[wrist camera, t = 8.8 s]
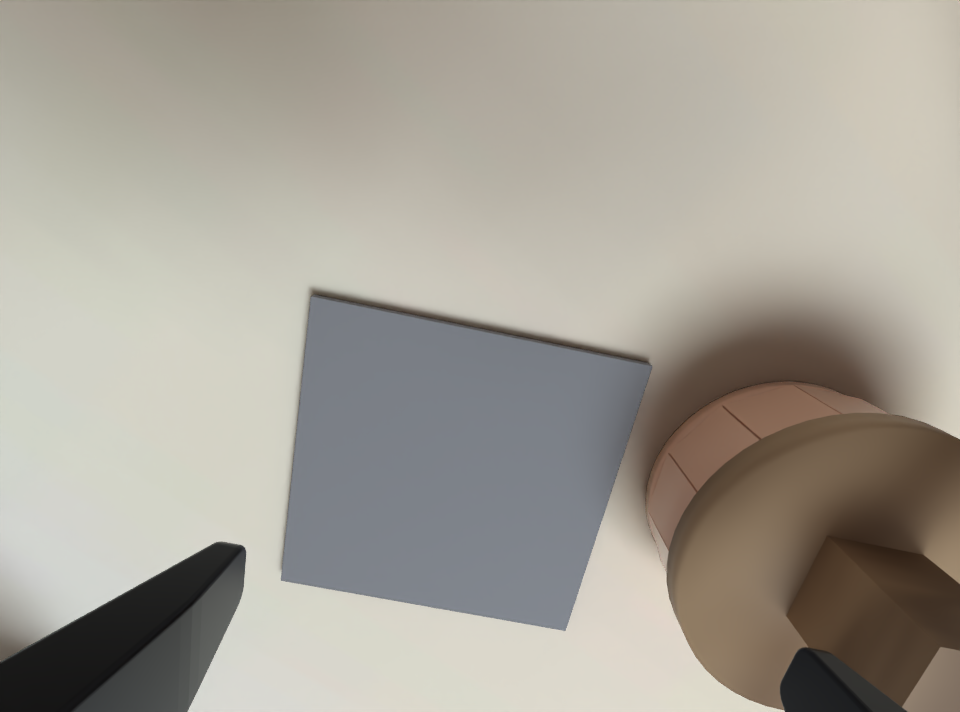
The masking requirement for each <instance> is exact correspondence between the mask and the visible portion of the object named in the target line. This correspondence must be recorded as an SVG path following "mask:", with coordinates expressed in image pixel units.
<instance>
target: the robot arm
mask: <svg viewBox="0 0 960 712" xmlns="http://www.w3.org/2000/svg"><path fill="white" fill-rule="evenodd" d="M245 562H246V550H245V548H244V547H243V546H242V545H238V544H232V543H227V542H216V543H214V544H212V545H210V546H208V547H206V548H205V549H203V550H201V551H199V552H197V553H196V554H194V555H192V556H190V557H188V558H187V559H185V560H183V561H181V562H179V563H178V564H176V565H174V566H172V567H170V568H169V569H167V570H165V571H163V572H161V573H160V574H158V575H156V576H154V577H152V578H151V579H149V580H147V581H145V582H143V583H142V584H140V585H138V586H136V587H134V588H133V589H131V590H129V591H127V592H125V593H124V594H122V595H120V596H118V597H116V598H115V599H113V600H111V601H109V602H107V603H106V604H104V605H102V606H100V607H98V608H97V609H95V610H93V611H91V612H89V613H87V614H86V615H84V616H82V617H80V618H78V619H77V620H75V621H73V622H71V623H69V624H68V625H66V626H64V627H62V628H60V629H59V630H57V631H55V632H53V633H51V634H50V635H48V636H46V637H44V638H42V639H41V640H39V641H37V642H35V643H33V644H32V645H30V646H28V647H26V648H24V649H23V650H21V651H19V652H17V653H15V654H14V655H12V656H10V657H8V658H6V659H5V660H3V661H1V662H0V712H187V711H188V709H189V707H190V705H191V703H192V701H193V699H194V697H195V695H196V693H197V691H198V689H199V687H200V685H201V683H202V681H203V678H204V676H205V674H206V672H207V670H208V668H209V666H210V664H211V662H212V659H213V657H214V655H215V653H216V651H217V649H218V647H219V645H220V643H221V640H222V638H223V636H224V634H225V632H226V630H227V628H228V626H229V624H230V621H231V619H232V617H233V615H234V613H235V611H236V609H237V607H238V604H239V602H240V599H241V596H242V592H243V587H244V574H245ZM780 698H781V702H782V704H783V707H784V710H785V712H908V711H906V710H905V709H904V708H902V707H901V706H900V705H898V704H897V703H896V702H895V701H893V700H892V699H891V698H889V697H888V696H887V695H885V694H884V693H883V692H881V691H880V690H879V689H878V688H876V687H875V686H874V685H872V684H871V683H870V682H868V681H867V680H866V679H864V678H863V677H862V676H861V675H859V674H858V673H857V672H855V671H854V670H853V669H851V668H850V667H849V666H847V665H846V664H845V663H844V662H842V661H841V660H840V659H838V658H837V657H836V656H834V655H833V654H832V653H830V652H828V651H825V650H820V649H814V648H809V647H802V648H800V649H799V650H797V652H796V653H795V655H794V657H793V659H792V661H791V663H790V665H789V667H788V669H787V671H786V673H785V675H784V677H783V678H782V680H781V683H780Z"/></svg>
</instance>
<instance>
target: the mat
mask: <svg viewBox="0 0 960 712" xmlns="http://www.w3.org/2000/svg"><path fill="white" fill-rule="evenodd" d="M651 369H652V365H651V364H650V363H646V362H642V361H637V360H632V359H627V358H622V357H617V356H612V355H607V354H603V353H598V352H593V351H588V350H583V349H578V348H573V347H568V346H564V345H559V344H554V343H549V342H544V341H539V340H534V339H529V338H524V337H520V336H515V335H510V334H505V333H500V332H495V331H490V330H485V329H481V328H476V327H471V326H466V325H461V324H456V323H451V322H446V321H442V320H437V319H432V318H427V317H422V316H417V315H412V314H407V313H402V312H398V311H393V310H388V309H383V308H378V307H373V306H368V305H363V304H359V303H354V302H349V301H344V300H339V299H334V298H329V297H324V296H320V295H313V296H311V300H310V310H309V319H308V329H307V338H306V348H305V357H304V366H303V376H302V385H301V395H300V404H299V414H298V423H297V433H296V442H295V452H294V461H293V470H292V480H291V489H290V499H289V508H288V518H287V527H286V537H285V546H284V556H283V565H282V574H281V581H286V582H292V583H298V584H303V585H309V586H315V587H320V588H326V589H332V590H337V591H343V592H349V593H354V594H360V595H366V596H371V597H377V598H383V599H388V600H394V601H400V602H405V603H411V604H416V605H422V606H428V607H433V608H439V609H445V610H450V611H456V612H462V613H467V614H473V615H479V616H484V617H490V618H496V619H501V620H507V621H513V622H518V623H524V624H529V625H535V626H541V627H546V628H552V629H558V630H563V631H566V628H567V625H568V621H569V618H570V615H571V612H572V609H573V606H574V603H575V600H576V597H577V594H578V591H579V588H580V585H581V582H582V579H583V576H584V573H585V570H586V567H587V564H588V561H589V558H590V555H591V552H592V549H593V546H594V543H595V540H596V536H597V533H598V530H599V527H600V524H601V521H602V518H603V515H604V512H605V509H606V506H607V503H608V500H609V497H610V494H611V491H612V488H613V485H614V482H615V479H616V476H617V473H618V470H619V467H620V464H621V461H622V458H623V454H624V451H625V448H626V445H627V442H628V439H629V436H630V433H631V430H632V427H633V424H634V421H635V418H636V415H637V412H638V409H639V406H640V403H641V400H642V397H643V394H644V391H645V388H646V385H647V382H648V379H649V376H650V373H651Z"/></svg>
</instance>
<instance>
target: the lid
mask: <svg viewBox="0 0 960 712" xmlns="http://www.w3.org/2000/svg"><path fill="white" fill-rule="evenodd" d="M667 587H668V593H669V599H670V601H671V604H672V607H673V610H674V613H675V615H676V618H677V620H678V622H679V624H680V626H681V629H682V631H683V633H684V635H685V637H686V640H687V642H688V644H689V645H690V647H691V649H692V651H693V653H694V655H695V656H696V658H697V659H698V660H699V662H700V663H701V664H702V665H703V667H704V668H705V669H706V670H707V671H708V672H709V673H710V674H711V675H712V676H713V677H714V678H715V679H716V680H717V681H719V682H720V683H721V684H723V685H724V686H726V687H727V688H729V689H730V690H732V691H733V692H735V693H737V694H739V695H741V696H743V697H745V698H747V699H749V700H751V701H754V702H757V703H760V704H762V705H765V706H768V707H773V708H777V709H781V710H784V707H783V704H782V702H781V698H780V683H781V680H782V678H783V677H784V675H785V673H786V671H787V669H788V667H789V665H790V663H791V661H792V659H793V657H794V655H795V653H796V652H797V650H799V649H800V648H802V647H809V648H814V649H820V650H825V651H828V652H830V653H832V654H833V655H834V656H836V657H837V658H838V659H840V660H841V661H842V662H844V663H845V664H846V665H847V666H849V667H850V668H851V669H853V670H854V671H855V672H857V673H858V674H859V675H861V676H862V677H863V678H864V679H866V680H867V681H868V682H870V683H871V684H872V685H874V686H875V687H876V688H878V689H879V690H880V691H881V692H883V693H884V694H885V695H887V696H888V697H889V698H891V699H892V700H893V701H895V702H896V703H897V704H898V705H900V706H901V707H902V708H904V709H905V710H906V711H908V712H960V439H958V438H956V437H954V436H952V435H950V434H948V433H946V432H944V431H942V430H940V429H937V428H935V427H933V426H931V425H929V424H926V423H924V422H921V421H917V420H914V419H910V418H907V417H903V416H897V415H890V414H883V413H848V414H838V415H831V416H826V417H821V418H816V419H812V420H808V421H805V422H802V423H799V424H796V425H793V426H789V427H786V428H784V429H782V430H780V431H777V432H775V433H773V434H771V435H769V436H766V437H764V438H762V439H761V440H759V441H757V442H756V443H754V444H752V445H750V446H749V447H747V448H745V449H744V450H742V451H741V452H740V453H738V454H737V455H736V456H734V457H733V458H732V459H730V460H729V461H727V462H726V463H725V464H724V465H723V466H722V467H721V468H719V469H718V470H717V471H716V472H715V473H714V474H713V475H712V476H711V477H710V478H709V479H708V480H707V481H706V482H705V483H704V485H703V486H702V487H701V488H700V489H699V491H698V492H697V493H696V494H695V495H694V497H693V498H692V500H691V501H690V503H689V504H688V506H687V508H686V509H685V511H684V512H683V514H682V516H681V518H680V520H679V522H678V525H677V527H676V529H675V531H674V534H673V538H672V541H671V544H670V547H669V553H668V559H667Z"/></svg>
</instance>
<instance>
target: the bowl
mask: <svg viewBox="0 0 960 712" xmlns="http://www.w3.org/2000/svg"><path fill="white" fill-rule="evenodd" d="M848 413H883V414H889V413H887V412H885V411H883V410H881V409H879V408H877V407H876V406H874V405H872V404H870V403H868V402H866V401H864V400H862V399H860V398H856V397H851V396H846V395H843V394H841V393H839V392H836V391H834V390H832V389H830V388H826V387H823V386H819V385H815V384H810V383H803V382H772V383H763V384H759V385H754V386H750V387H746V388H743V389H740V390H737V391H734V392H731V393H729V394H727V395H725V396H723V397H721V398H718V399H716V400H714V401H713V402H711V403H709V404H708V405H706V406H705V407H703V408H701V409H700V410H698V411H697V412H696V413H695V414H693V415H692V416H691V417H690V418H688V419H687V420H686V421H685V422H684V423H683V424H682V425H681V426H680V427H679V428H678V429H677V430H676V431H675V432H674V433H673V435H672V436H671V437H670V438H669V440H668V441H667V442H666V444H665V445H664V447H663V448H662V450H661V452H660V453H659V455H658V457H657V459H656V461H655V463H654V466H653V468H652V470H651V473H650V477H649V481H648V484H647V492H646V514H647V519H648V525H649V527H650V530H651V533H652V536H653V538H654V540H655V542H656V544H657V548H658V552H659V555H660V559H661V562H662V564H663V566H664V568H665V570H666V572H667V559H668V553H669V547H670V544H671V541H672V538H673V534H674V531H675V529H676V527H677V525H678V522H679V520H680V518H681V516H682V514H683V512H684V511H685V509H686V508H687V506H688V504H689V503H690V501H691V500H692V498H693V497H694V495H695V494H696V493H697V492H698V491H699V489H700V488H701V487H702V486H703V485H704V483H705V482H706V481H707V480H708V479H709V478H710V477H711V476H712V475H713V474H714V473H715V472H716V471H717V470H718V469H719V468H721V467H722V466H723V465H724V464H725V463H726V462H727V461H729V460H730V459H732V458H733V457H734V456H736V455H737V454H738V453H740V452H741V451H742V450H744V449H745V448H747V447H749V446H750V445H752V444H754V443H756V442H757V441H759V440H761V439H762V438H764V437H766V436H769V435H771V434H773V433H775V432H777V431H780V430H782V429H784V428H786V427H789V426H793V425H796V424H799V423H802V422H805V421H808V420H812V419H816V418H821V417H826V416H831V415H838V414H848ZM890 415H891V414H890Z"/></svg>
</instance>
